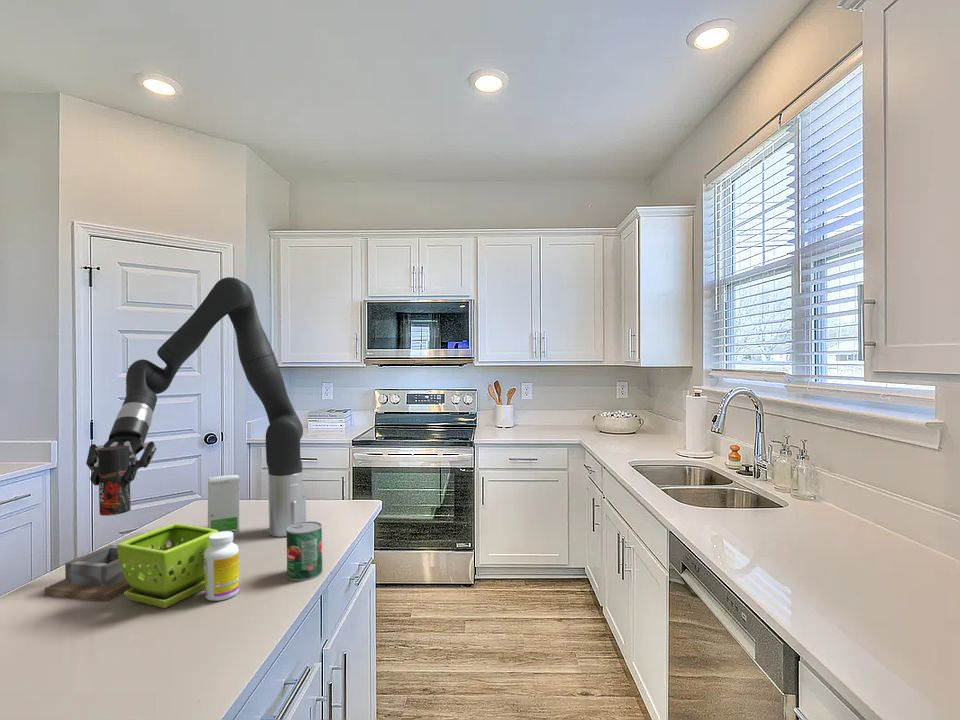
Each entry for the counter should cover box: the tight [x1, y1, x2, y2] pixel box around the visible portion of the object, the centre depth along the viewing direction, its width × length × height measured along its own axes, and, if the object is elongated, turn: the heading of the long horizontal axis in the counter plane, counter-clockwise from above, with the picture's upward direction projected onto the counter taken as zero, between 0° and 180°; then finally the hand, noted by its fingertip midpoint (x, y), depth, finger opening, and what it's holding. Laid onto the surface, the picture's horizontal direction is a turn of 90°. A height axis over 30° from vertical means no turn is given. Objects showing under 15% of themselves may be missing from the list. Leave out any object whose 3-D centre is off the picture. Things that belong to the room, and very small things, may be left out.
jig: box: [44, 544, 171, 602], centre depth 119 cm, size 16×22×6 cm
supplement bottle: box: [204, 531, 240, 602], centre depth 109 cm, size 7×7×13 cm
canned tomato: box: [285, 520, 324, 582], centre depth 119 cm, size 8×8×11 cm
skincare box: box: [207, 474, 240, 532], centre depth 150 cm, size 8×7×16 cm
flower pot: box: [117, 523, 218, 609], centre depth 109 cm, size 14×14×13 cm
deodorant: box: [98, 446, 131, 517], centre depth 119 cm, size 6×6×15 cm
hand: (111, 482), depth 118 cm, fingers closed on deodorant, 6 cm apart
